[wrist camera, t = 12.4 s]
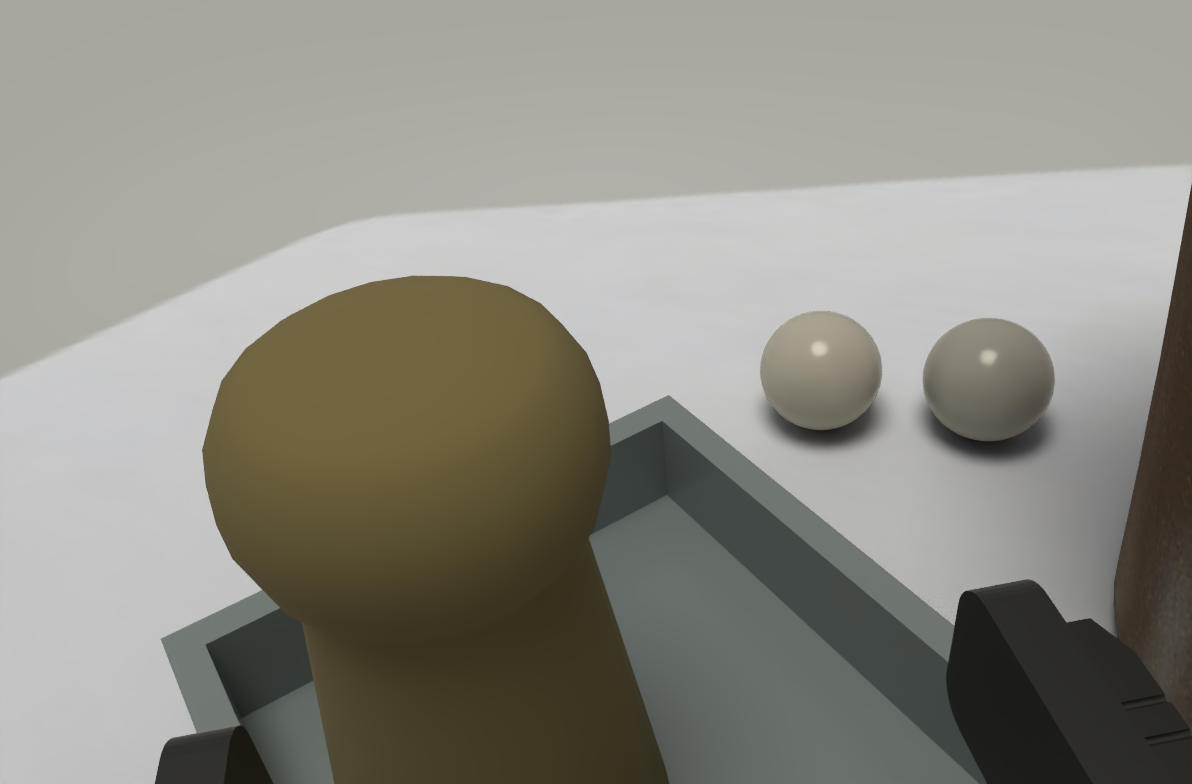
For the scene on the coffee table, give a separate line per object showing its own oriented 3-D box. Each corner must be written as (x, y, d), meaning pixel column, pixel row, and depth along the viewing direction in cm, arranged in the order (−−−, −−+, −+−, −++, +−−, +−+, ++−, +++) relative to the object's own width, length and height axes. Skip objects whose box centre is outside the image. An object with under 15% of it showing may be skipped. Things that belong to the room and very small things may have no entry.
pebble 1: (736, 411, 29) (735, 317, 27) (821, 368, 31) (826, 275, 29) (813, 471, 27) (819, 373, 25) (902, 422, 28) (913, 324, 26)
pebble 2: (891, 421, 28) (902, 324, 26) (973, 376, 30) (989, 281, 28) (985, 484, 26) (1004, 383, 24) (1069, 432, 27) (1094, 332, 25)
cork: (618, 649, 22) (559, 182, 15) (726, 921, 18) (709, 423, 11) (336, 735, 21) (140, 276, 14) (372, 1049, 16) (108, 586, 10)
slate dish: (208, 729, 22) (160, 639, 20) (674, 485, 27) (668, 395, 25) (470, 1386, 14) (427, 1331, 12) (1085, 859, 18) (1123, 762, 17)
